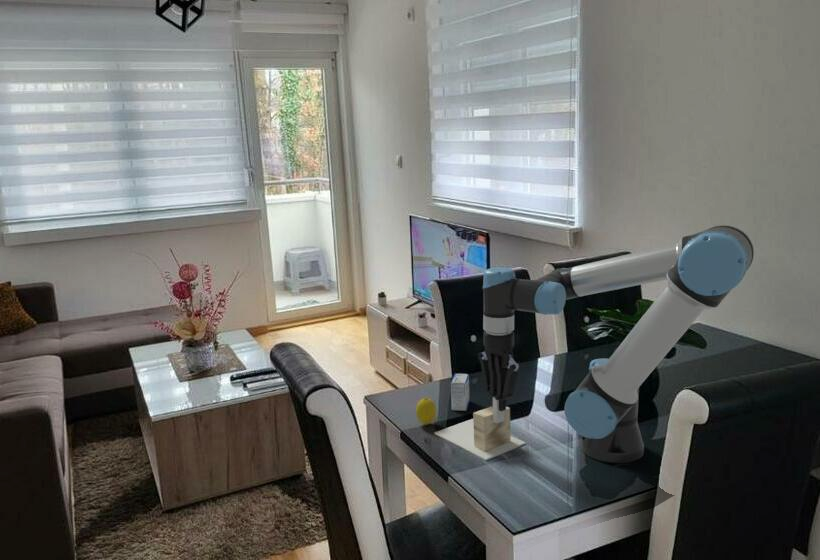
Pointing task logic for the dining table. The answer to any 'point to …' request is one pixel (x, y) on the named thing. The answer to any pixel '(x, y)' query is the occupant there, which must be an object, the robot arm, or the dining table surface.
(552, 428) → the dining table surface
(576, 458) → the dining table surface
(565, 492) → the dining table surface
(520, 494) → the dining table surface
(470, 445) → the placemat
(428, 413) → the lemon
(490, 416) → the slab
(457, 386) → the medicine box
